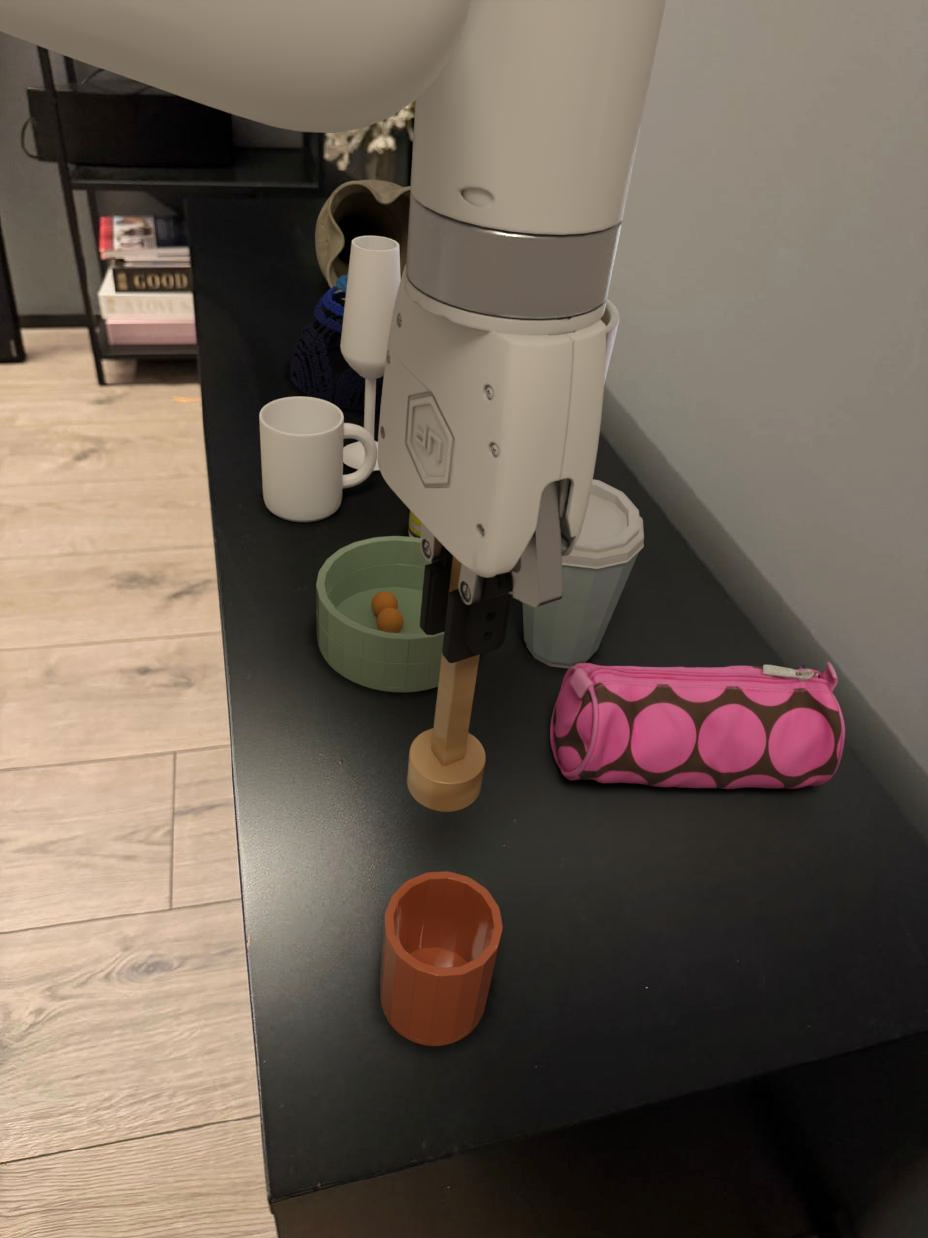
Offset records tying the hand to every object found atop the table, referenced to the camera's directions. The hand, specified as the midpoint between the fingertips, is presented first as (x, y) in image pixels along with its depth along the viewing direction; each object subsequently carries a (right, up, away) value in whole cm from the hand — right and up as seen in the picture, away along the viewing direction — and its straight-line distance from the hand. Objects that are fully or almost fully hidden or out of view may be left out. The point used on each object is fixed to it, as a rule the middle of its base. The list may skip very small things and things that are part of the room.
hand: (461, 636), depth 45 cm
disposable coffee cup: (+8, -2, +39) cm, 40 cm away
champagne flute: (-11, +20, +62) cm, 66 cm away
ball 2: (-6, +1, +36) cm, 37 cm away
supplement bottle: (-3, +9, +51) cm, 52 cm away
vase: (-16, +54, +103) cm, 117 cm away
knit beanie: (-13, +33, +78) cm, 86 cm away
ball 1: (-7, +2, +38) cm, 39 cm away
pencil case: (+17, -11, +29) cm, 36 cm away
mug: (-15, +13, +54) cm, 57 cm away
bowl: (-6, -1, +38) cm, 38 cm away
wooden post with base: (-1, -8, +7) cm, 11 cm away
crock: (-2, -22, +12) cm, 25 cm away
